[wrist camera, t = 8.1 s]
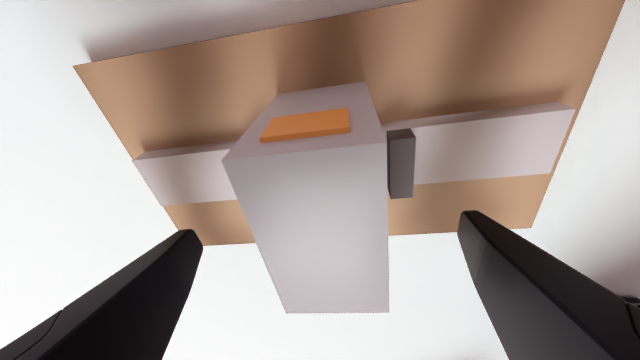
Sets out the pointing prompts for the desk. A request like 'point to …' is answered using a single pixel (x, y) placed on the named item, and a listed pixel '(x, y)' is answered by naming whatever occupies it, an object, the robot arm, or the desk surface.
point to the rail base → (388, 98)
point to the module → (318, 198)
